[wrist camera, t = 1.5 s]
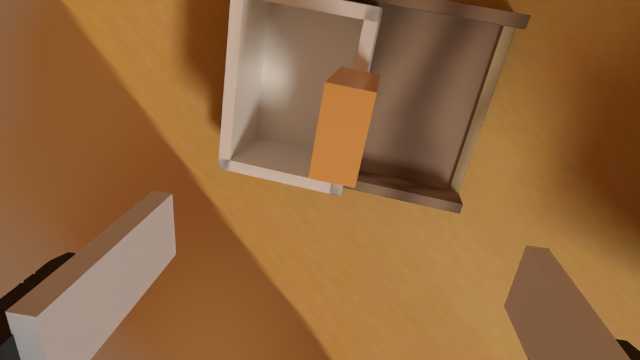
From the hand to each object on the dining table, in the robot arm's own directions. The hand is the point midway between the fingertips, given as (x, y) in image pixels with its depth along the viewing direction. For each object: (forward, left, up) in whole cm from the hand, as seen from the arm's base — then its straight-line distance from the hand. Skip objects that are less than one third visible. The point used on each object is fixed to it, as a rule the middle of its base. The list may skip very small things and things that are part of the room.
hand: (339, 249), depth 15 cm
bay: (+1, -1, -27) cm, 27 cm away
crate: (+6, -1, -26) cm, 27 cm away
